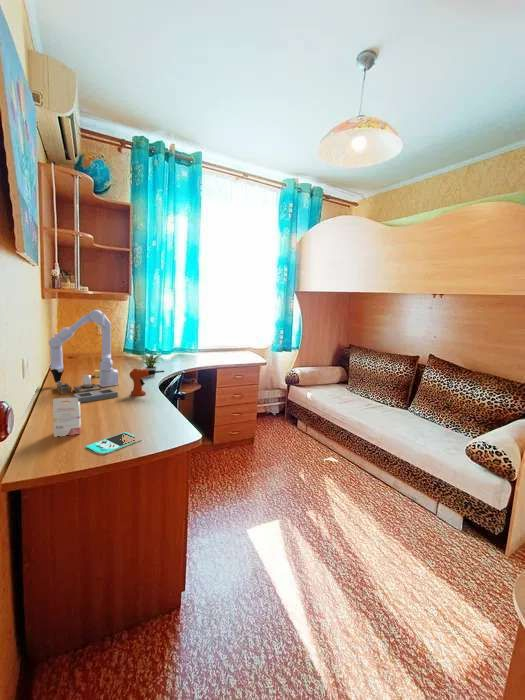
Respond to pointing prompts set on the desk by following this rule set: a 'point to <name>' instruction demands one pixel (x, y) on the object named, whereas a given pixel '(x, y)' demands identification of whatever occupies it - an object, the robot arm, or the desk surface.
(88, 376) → the shiny metal cylinder
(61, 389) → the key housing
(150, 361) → the house plant
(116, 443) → the handheld game console
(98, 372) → the rubber stamp
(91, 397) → the rack
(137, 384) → the toy drill
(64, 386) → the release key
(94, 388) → the socket block
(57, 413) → the ink cartridge box
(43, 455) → the desk surface
